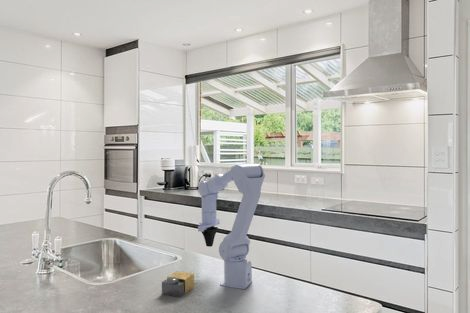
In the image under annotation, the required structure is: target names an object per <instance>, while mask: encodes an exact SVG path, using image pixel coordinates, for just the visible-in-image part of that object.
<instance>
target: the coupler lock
mask: <svg viewBox="0 0 470 313" xmlns="http://www.w3.org/2000/svg"><path fill="white" fill-rule="evenodd" d="M171 277H177V278H179V282H184V295H186V294H187V293H188V292H190V291H191V290H193V289H194V288H195V273H192V272H185V271H175V272H173V273H171V274H169V275H167V277H166V280H167V279H168V278H171Z"/></svg>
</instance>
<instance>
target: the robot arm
mask: <svg viewBox="0 0 470 313" xmlns="http://www.w3.org/2000/svg"><path fill="white" fill-rule="evenodd" d="M265 177H266V176H265V172H264V169H263V166H262V165H261V164H259V163H254V164H252V163H251V164H235V165H234V166H231V167H230V169H228V170H227V171H226V172H225V173H224V174H223V173H215V174H214V176H212V177H209V178H208V180H201V181H200V182H199V183H198V187H197V189H198V192H199V195H200V196H201V221H199V223H198V224H199V225H198V226H197V231H198V232H199V233H200V232H201V234H202V235H203V239H204V242H205V246H206V247H213V246H214V245H213V244H214V241H215V237H216V233H217V232H218V230H219V227H218V225H220V219H219V218H217V200H218V196H219V192H220V191H222V190H224V189H226V188H227V187H228V184H229V183H231V182H233V184H234V185H235V187H236V188H237V190H238V192H239V193H241V194H242V198H241V200H240V204H239V207H238V210H237V212H236V216H235V220H234V222H233V224H232V228H231V231H230V232H229V233H228V234H226V235H225V236H224V237H223V240H222V241H221V242H220V243H219V247H218V252H219V256H220V257H221V259H222V260H223V268H224V269H223V271H224V274H223V275H224V280H223V281H222V282H221V283H220V284H219V285H220V286H221V287H229V288H235V289H241V290H246V288H248V286H249V285H250V284H252V283H253V278H252V277H253V276H252V275H253V274H252V272H253V270H252V268H253V267H252V262H251V260H247V255H249V251H250V244H251V240H250V238H249V236H247V235H248V233H249V229H250V226H251V224H252V220H253V218H254V215H255V212H256V208H257V206H258V203H259V201H260V198H261V191H262V186H263V182H264V181H265Z"/></svg>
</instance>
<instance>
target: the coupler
mask: <svg viewBox="0 0 470 313" xmlns="http://www.w3.org/2000/svg"><path fill="white" fill-rule="evenodd" d="M161 295H165V296H170V297H174V298H175V297H176V298H181V297H183V296H185V294H184V282H179V278H177V277H171V278H168V279H167V278H166V279H165V280H163V281H161Z"/></svg>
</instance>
